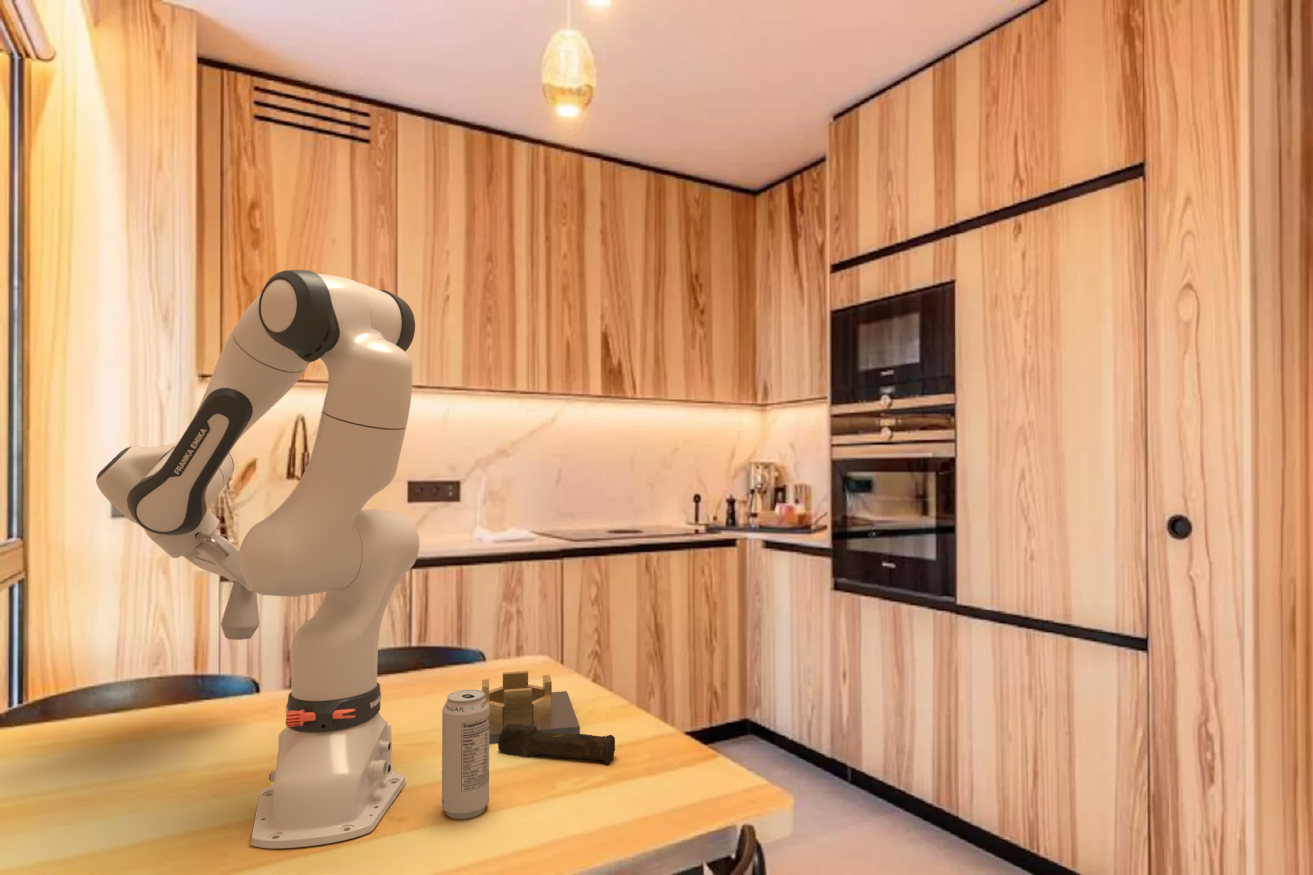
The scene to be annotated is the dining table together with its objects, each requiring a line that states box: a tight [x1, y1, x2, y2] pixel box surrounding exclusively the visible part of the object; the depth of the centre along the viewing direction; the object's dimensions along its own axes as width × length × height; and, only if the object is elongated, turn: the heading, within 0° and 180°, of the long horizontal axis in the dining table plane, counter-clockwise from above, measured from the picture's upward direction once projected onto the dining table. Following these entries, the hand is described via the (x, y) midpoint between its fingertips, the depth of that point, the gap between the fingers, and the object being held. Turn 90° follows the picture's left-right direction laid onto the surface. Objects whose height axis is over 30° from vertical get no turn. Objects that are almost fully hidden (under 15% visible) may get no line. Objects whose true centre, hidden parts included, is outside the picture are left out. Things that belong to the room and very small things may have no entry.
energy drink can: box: [441, 688, 490, 820], centre depth 97 cm, size 6×6×15 cm
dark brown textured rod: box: [497, 724, 616, 766], centre depth 115 cm, size 19×4×5 cm, turn 75°
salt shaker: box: [220, 581, 260, 641], centre depth 128 cm, size 6×6×13 cm
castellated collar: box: [481, 670, 581, 745], centre depth 131 cm, size 20×20×7 cm
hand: (248, 586), depth 129 cm, fingers closed on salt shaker, 3 cm apart
